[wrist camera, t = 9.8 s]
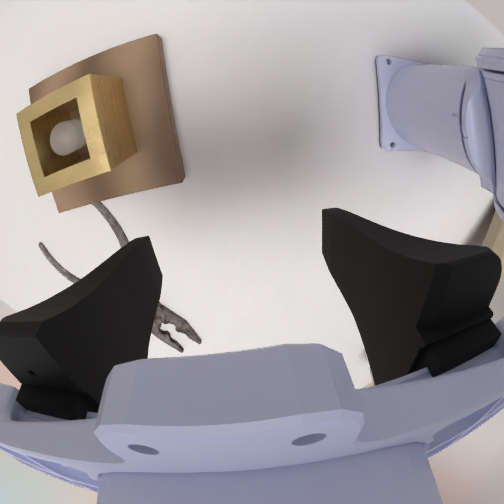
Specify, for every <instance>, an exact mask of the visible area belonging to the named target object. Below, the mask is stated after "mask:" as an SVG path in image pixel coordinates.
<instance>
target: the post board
mask: <svg viewBox="0 0 504 504" xmlns="http://www.w3.org/2000/svg"><path fill="white" fill-rule="evenodd" d="M88 74H96V75H105V76H113V77H120V78H122V81H123V87H124V92H125V97H126V103H127V107H128V112H129V117H130V122H131V126H132V131H133V135H134V139H135V143H136V148H137V153H136V154H134V155H133V156H131V157H130V158H128V159H127V160H125V161H124V162H122V163H121V164H120V165H118V166H117V167H115V168H114V169H113V170H111V171H109V172H105V173H102V174H99V175H96V176H93V177H90V178H87V179H84V180H82V181H79V182H76V183H73V184H70V185H68V186H65V187H62V188H60V189H57V190H55V191H52V193H53V197H54V200H55V202H56V205H57V208H58V211H59V213H61V212H64V211H67V210H71V209H74V208H78V207H81V206H85V205H88V204H92V203H96V202H99V201H103V200H107V199H111V198H115V197H119V196H123V195H127V194H131V193H135V192H140V191H144V190H149V189H153V188H158V187H163V186H167V185H172V184H177V183H182V182H183V180H184V178H185V174H184V170H183V165H182V160H181V155H180V150H179V145H178V139H177V134H176V129H175V123H174V118H173V112H172V106H171V101H170V95H169V88H168V82H167V76H166V69H165V62H164V55H163V48H162V40H161V37H159V36H158V35H157V34H154V35H150V36H147V37H143V38H140V39H137V40H134V41H131V42H128V43H125V44H122V45H119V46H116V47H114V48H111V49H108V50H106V51H103V52H101V53H98V54H96V55H93V56H91V57H89V58H87V59H84V60H82V61H80V62H78V63H76V64H74V65H71V66H69V67H67V68H65V69H63V70H61V71H59V72H58V73H56V74H54V75H52V76H50V77H48V78H47V79H45V80H43V81H41V82H40V83H38V84H36V85H34V86H33V87H31V88H30V89H29V94H30V101H31V104H33V103H34V102H36V101H38V100H39V99H41V98H43V97H44V96H46V95H48V94H50V93H52V92H53V91H55V90H57V89H59V88H61V87H63V86H65V85H67V84H69V83H71V82H73V81H75V80H77V79H79V78H81V77H83V76H85V75H88ZM70 116H71V120H68V121H64V122H60V123H58V124H57V125H56V126H55V127H54V128H53V130H52V132H51V135H50V144H51V147H52V149H53V151H54V152H55V153H56V154H58V155H61V156H64V155H67V154H69V153H72V152H74V151H76V150H79V154H80V157H82V156H85V155H88V154H89V151H88V147H87V143H86V139H85V135H84V131H83V126H82V122H81V117H80V113H79V109H77V110H75V111H73V112H71V113H70Z"/></svg>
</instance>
